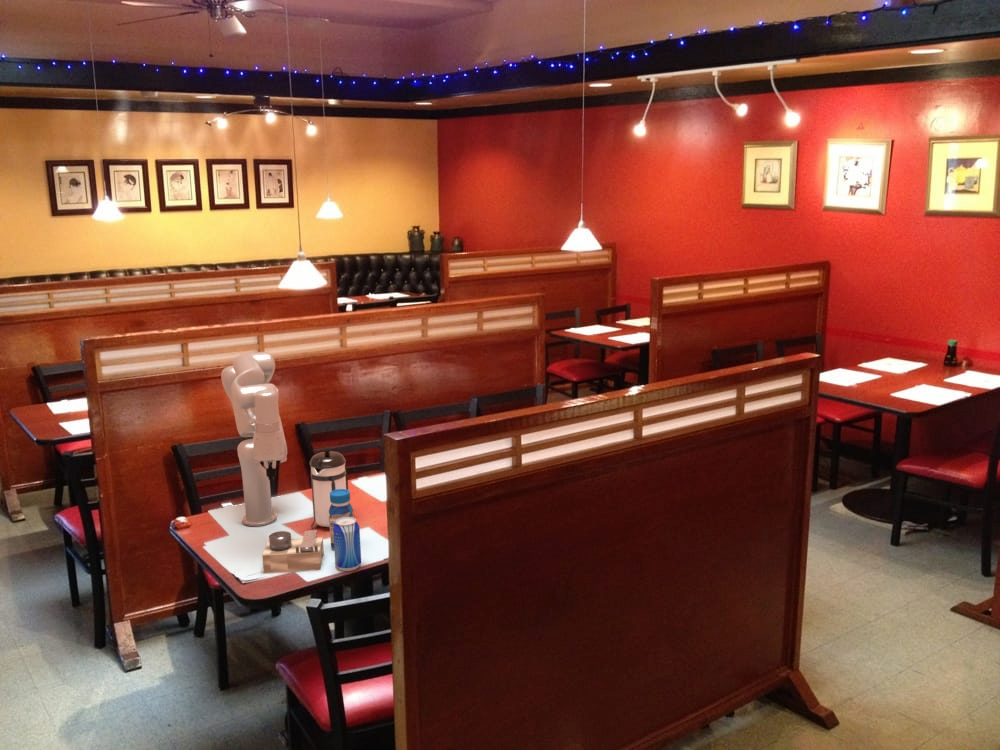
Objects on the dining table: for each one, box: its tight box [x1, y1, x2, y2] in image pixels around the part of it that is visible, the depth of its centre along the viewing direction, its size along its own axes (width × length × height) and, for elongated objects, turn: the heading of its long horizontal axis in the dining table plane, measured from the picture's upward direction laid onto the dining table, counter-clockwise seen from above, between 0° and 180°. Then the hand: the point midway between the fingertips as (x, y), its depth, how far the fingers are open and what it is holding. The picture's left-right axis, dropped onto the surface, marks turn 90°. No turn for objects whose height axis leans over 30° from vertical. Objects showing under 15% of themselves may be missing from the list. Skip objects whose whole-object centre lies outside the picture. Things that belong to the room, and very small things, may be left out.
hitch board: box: [262, 536, 325, 574], centre depth 278 cm, size 12×18×8 cm, turn 96°
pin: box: [268, 530, 292, 551], centre depth 277 cm, size 7×7×10 cm
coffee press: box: [309, 446, 349, 530], centre depth 308 cm, size 17×16×30 cm
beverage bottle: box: [329, 489, 355, 550], centre depth 289 cm, size 8×8×20 cm
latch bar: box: [300, 529, 318, 552], centre depth 279 cm, size 14×4×2 cm, turn 6°
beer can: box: [333, 517, 362, 572], centre depth 274 cm, size 8×8×16 cm
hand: (271, 478), depth 284 cm, fingers closed
